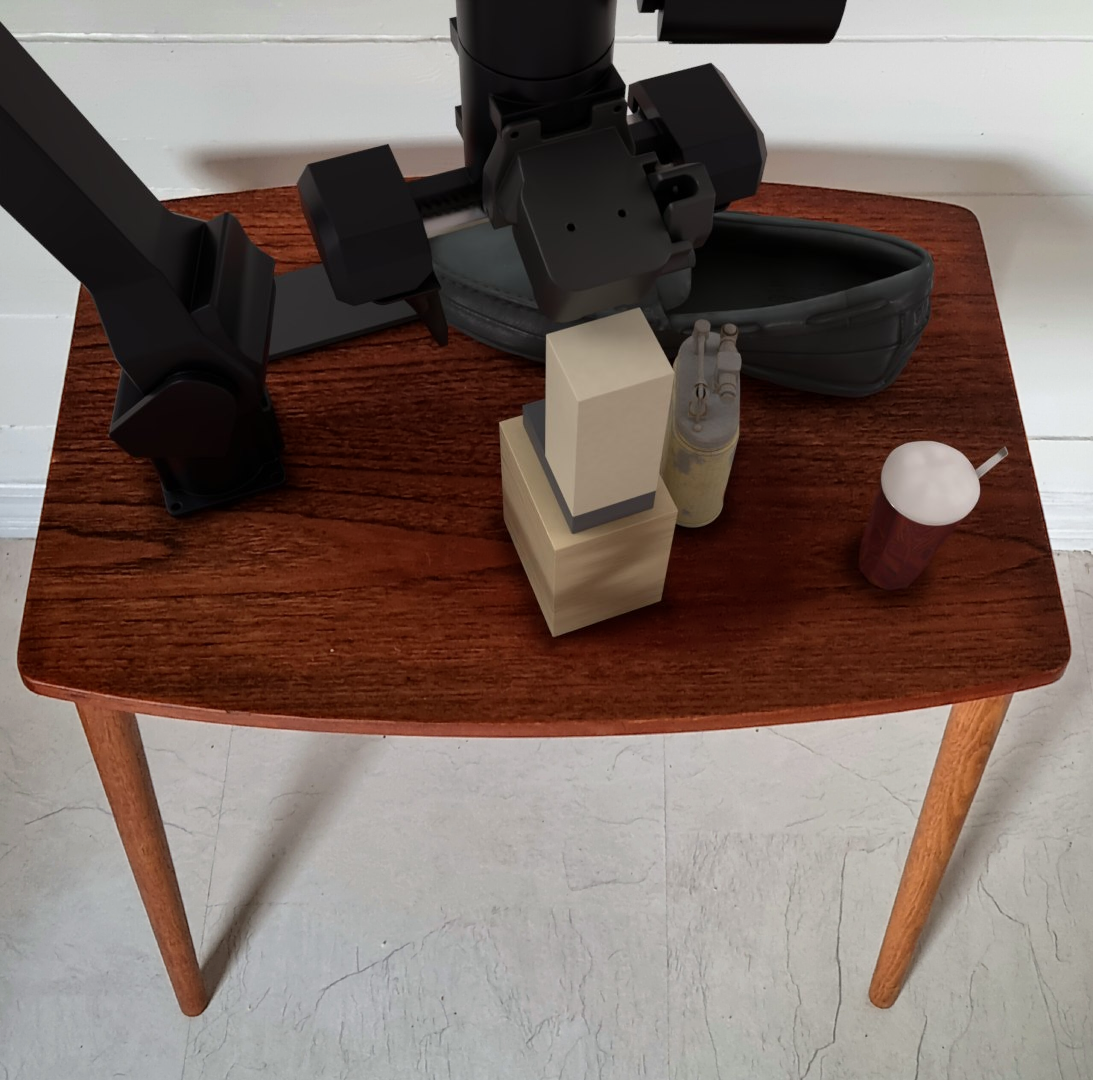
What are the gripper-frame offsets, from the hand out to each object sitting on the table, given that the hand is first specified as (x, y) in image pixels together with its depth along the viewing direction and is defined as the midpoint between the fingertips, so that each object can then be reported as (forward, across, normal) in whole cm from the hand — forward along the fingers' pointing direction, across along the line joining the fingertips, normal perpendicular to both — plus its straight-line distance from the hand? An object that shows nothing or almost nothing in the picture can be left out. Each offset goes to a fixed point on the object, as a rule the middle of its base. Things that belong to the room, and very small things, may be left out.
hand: (533, 313), depth 57 cm
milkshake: (+12, +16, -13) cm, 24 cm away
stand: (+12, 0, -7) cm, 14 cm away
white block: (+3, 0, -7) cm, 8 cm away
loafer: (+12, +10, +6) cm, 17 cm away
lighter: (+12, +8, -4) cm, 15 cm away
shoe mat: (+12, -7, +14) cm, 20 cm away
